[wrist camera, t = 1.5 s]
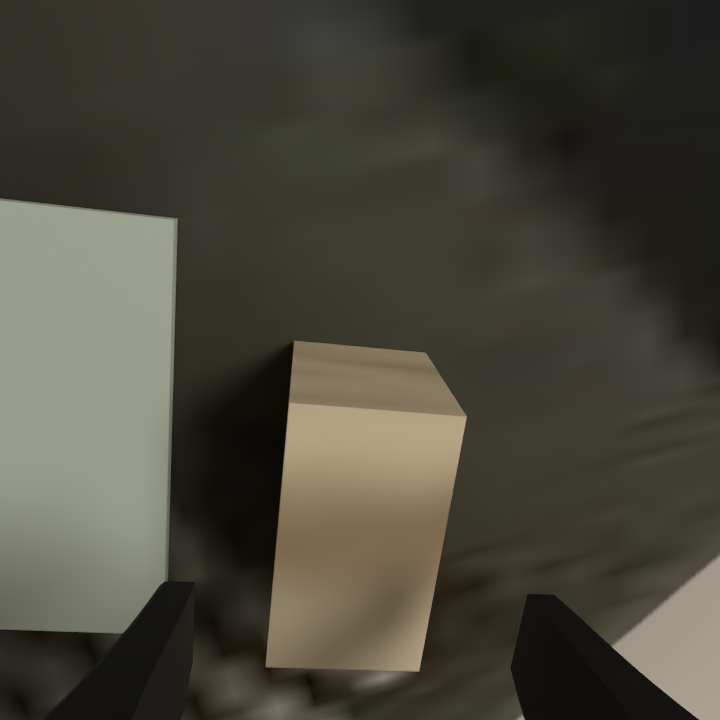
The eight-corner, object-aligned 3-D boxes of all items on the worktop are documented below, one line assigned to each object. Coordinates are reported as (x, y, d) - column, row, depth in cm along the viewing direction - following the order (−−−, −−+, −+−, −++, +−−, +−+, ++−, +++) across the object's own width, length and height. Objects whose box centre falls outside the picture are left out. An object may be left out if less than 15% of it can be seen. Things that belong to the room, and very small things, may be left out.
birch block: (393, 553, 22) (419, 670, 17) (275, 548, 22) (265, 667, 17) (425, 351, 20) (466, 417, 15) (294, 339, 19) (289, 402, 14)
